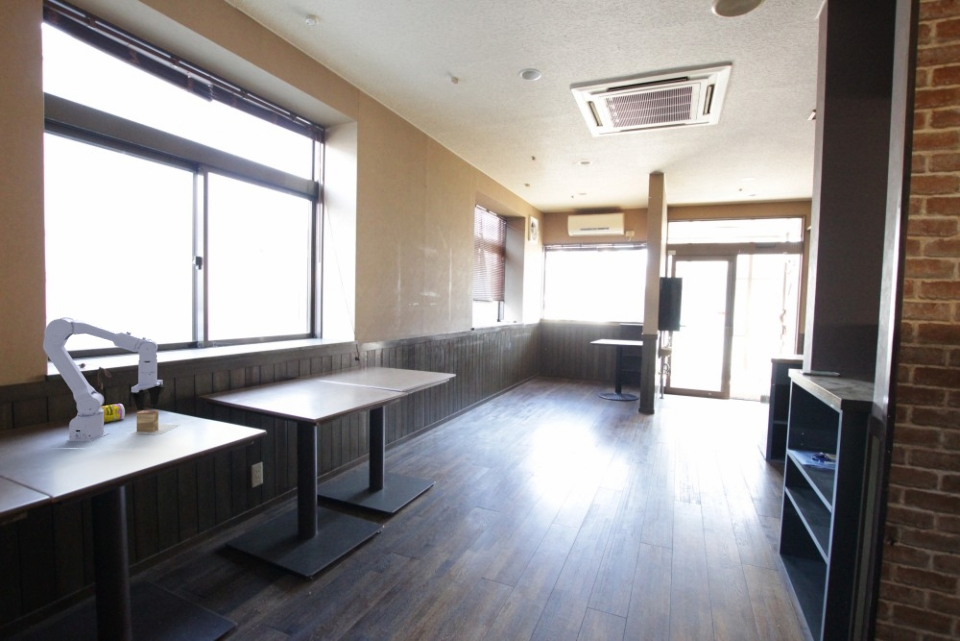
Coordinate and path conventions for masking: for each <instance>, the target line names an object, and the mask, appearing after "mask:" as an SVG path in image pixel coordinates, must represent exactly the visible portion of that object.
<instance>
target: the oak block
mask: <svg viewBox="0 0 960 641" xmlns="http://www.w3.org/2000/svg"><path fill="white" fill-rule="evenodd" d="M158 424H159V410H139V411H137V412H136V431H137V432H154V431H156V430H158Z"/></svg>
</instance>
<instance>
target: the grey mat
mask: <svg viewBox="0 0 960 641" xmlns="http://www.w3.org/2000/svg"><path fill="white" fill-rule="evenodd" d="M180 426H181V424H159V423H158V430H156V431H154V432H137V430H136V431H133V432H131V433H130V435H131V434H133V435H138V434H139V435H163V434H165V433H168V432H169V431H172V430H174V429H176V428H178V427H180Z"/></svg>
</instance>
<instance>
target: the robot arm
mask: <svg viewBox="0 0 960 641" xmlns="http://www.w3.org/2000/svg"><path fill="white" fill-rule="evenodd" d="M84 334H85V335H89V336H93V337H95V338H96V337H97V338H100V339H103V340H107V341H110V342H112V343H113V344H114V346H115V347H116V348H120V349H124V350H126V351H130V352H134V353H136V352H137V353H138V356H139V358H138V365H137V366H138V371H137V372H138V374H137V376H138V377H137V380H138V381H137V382H138V383H137V384H136V385H134V386H131V390H130V391H129V395H130V396H131V397H132V399H133V401H134V403H135V407H136V410H137V411H145V409H146V400H147V397H148V395H149V402H150V405H151V406H157V405H158V404H159V401H160V397H161V394H162V393H163V391H164V389H166V388H165V386H166V385H164V384H163V383H164V382H163V381H164V380H163V379H158V359H157V358H158V354H157V352H158V348H159V346H158V344H157V343H156V341H155V340H153V339H151V338H150V339H148V338H147V337H145V336H143V337H140V336H137V335H134V334H132V332H131V331H126V332H125V331H121V332H114V331H111V330H109V329H106V328H103V327H101V326H98V325H95V324H94V323H93V324H92V323H89V322H87V321H83V320H79V319H73V318H71V317H61V318H57V319H53V320H51V321H50V322H49V323H48V325H47V326H46V327H45V329H44V335H43V336H44V337H43V344H42V349H43V351H44V352H45V354H46V356H48V358H49V360H50V361H51V362H52V363H51V364H53V366H54V367H55V368H56V370H57V372H58V373H59V374H60V376H61V378H62V379H63V380H64V382H65V383H66V385H67V386H68V388H69V389H70V390H71V392H72V395H73V400H74V401H75V403H76V410H77V414H76V416H75V417H74V418H72V419H71V420H70V421H69V424H68V432H69V434H68V437H69V438H67V439H66V442H92V441H94V440H97V439H100V438H102V437H105V436H107V435H110V434H111V432H109V431H108V432H107V431H106V432H104V431H105V429H104V428H105V427H104V426H105V423H104V410H103V409H102V408H101V407H100V406H103V404H104V403H105V398H104V395H103V394H101V393H100V392H98V391H96V389H95V388H94V387H93V386H92V385H91V384H90V383H89V382H88V380H87V379H86V377H85V376H84V374H83V373H82V371H81V370H80V368H79V367H78V365H77V364H76V362H75V361H74V359H73V358H72V357H71V355H70V354H69V352H68V351H67V349H66V347H65V345H66V344H67V343H68V342H67V341H68V340H69V338H70V337H72V335H84ZM146 390H147V391H146Z"/></svg>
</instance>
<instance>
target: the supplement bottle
mask: <svg viewBox="0 0 960 641" xmlns="http://www.w3.org/2000/svg"><path fill="white" fill-rule="evenodd" d="M100 407H101V408H102V409H103V410H104V424H105V423H109V422H117V421H120V420H123V419H124V418H125V415H126V410H125V407H124V405H123V404H122V403H115V404H108V405H107V404H106V405H101V406H100Z"/></svg>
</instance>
